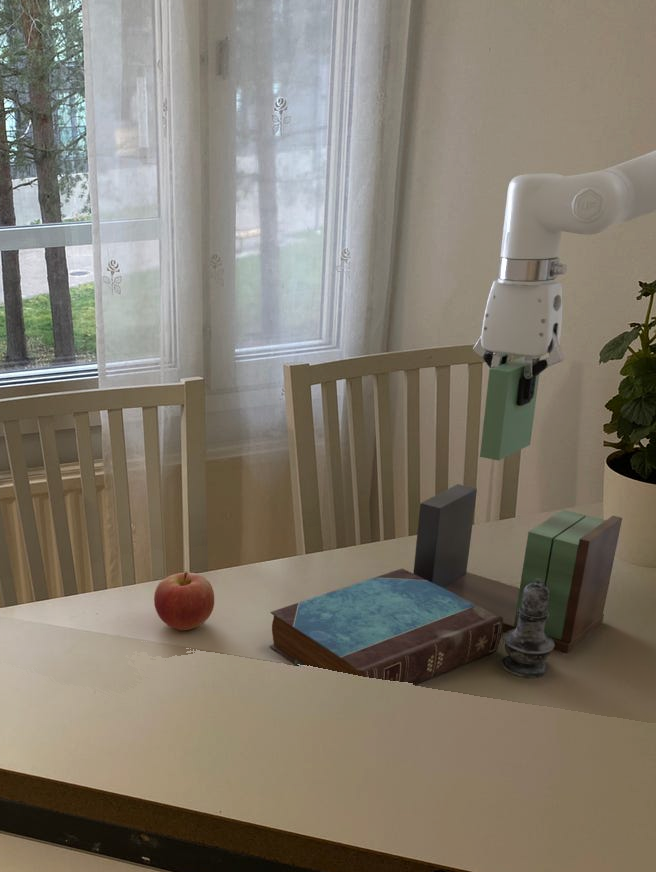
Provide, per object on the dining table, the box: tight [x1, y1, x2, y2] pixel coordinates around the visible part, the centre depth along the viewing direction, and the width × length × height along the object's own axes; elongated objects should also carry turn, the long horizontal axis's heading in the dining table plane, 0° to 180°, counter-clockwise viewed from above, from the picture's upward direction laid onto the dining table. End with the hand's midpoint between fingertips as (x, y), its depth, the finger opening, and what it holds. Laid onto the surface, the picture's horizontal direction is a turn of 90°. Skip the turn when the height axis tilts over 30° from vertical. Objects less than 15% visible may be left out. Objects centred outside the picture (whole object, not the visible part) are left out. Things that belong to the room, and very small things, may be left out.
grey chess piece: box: [500, 577, 554, 679], centre depth 108 cm, size 6×6×12 cm
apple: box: [153, 571, 215, 631], centre depth 121 cm, size 8×8×8 cm
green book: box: [479, 356, 540, 461], centre depth 134 cm, size 10×3×13 cm, turn 135°
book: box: [269, 568, 503, 685], centre depth 114 cm, size 23×18×5 cm
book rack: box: [413, 483, 623, 654], centre depth 121 cm, size 11×24×15 cm, turn 46°
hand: (511, 400), depth 134 cm, fingers closed on green book, 3 cm apart
